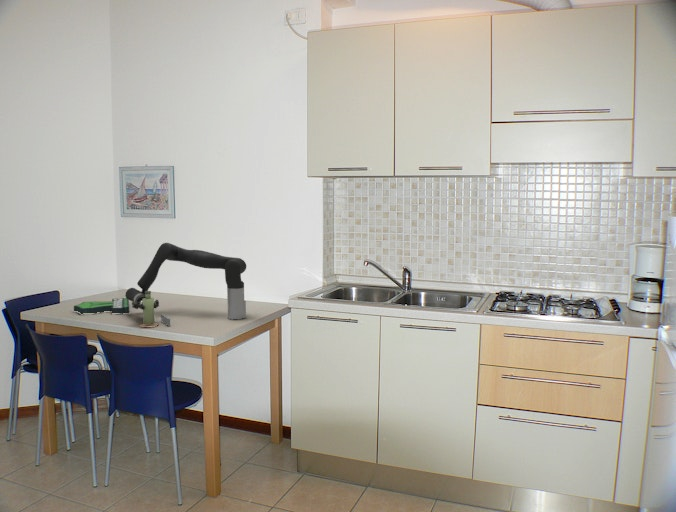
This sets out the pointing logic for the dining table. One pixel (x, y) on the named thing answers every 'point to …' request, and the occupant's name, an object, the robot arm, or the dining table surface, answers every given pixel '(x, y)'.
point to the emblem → (104, 306)
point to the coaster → (149, 325)
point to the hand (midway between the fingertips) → (149, 307)
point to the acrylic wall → (165, 319)
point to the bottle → (148, 309)
